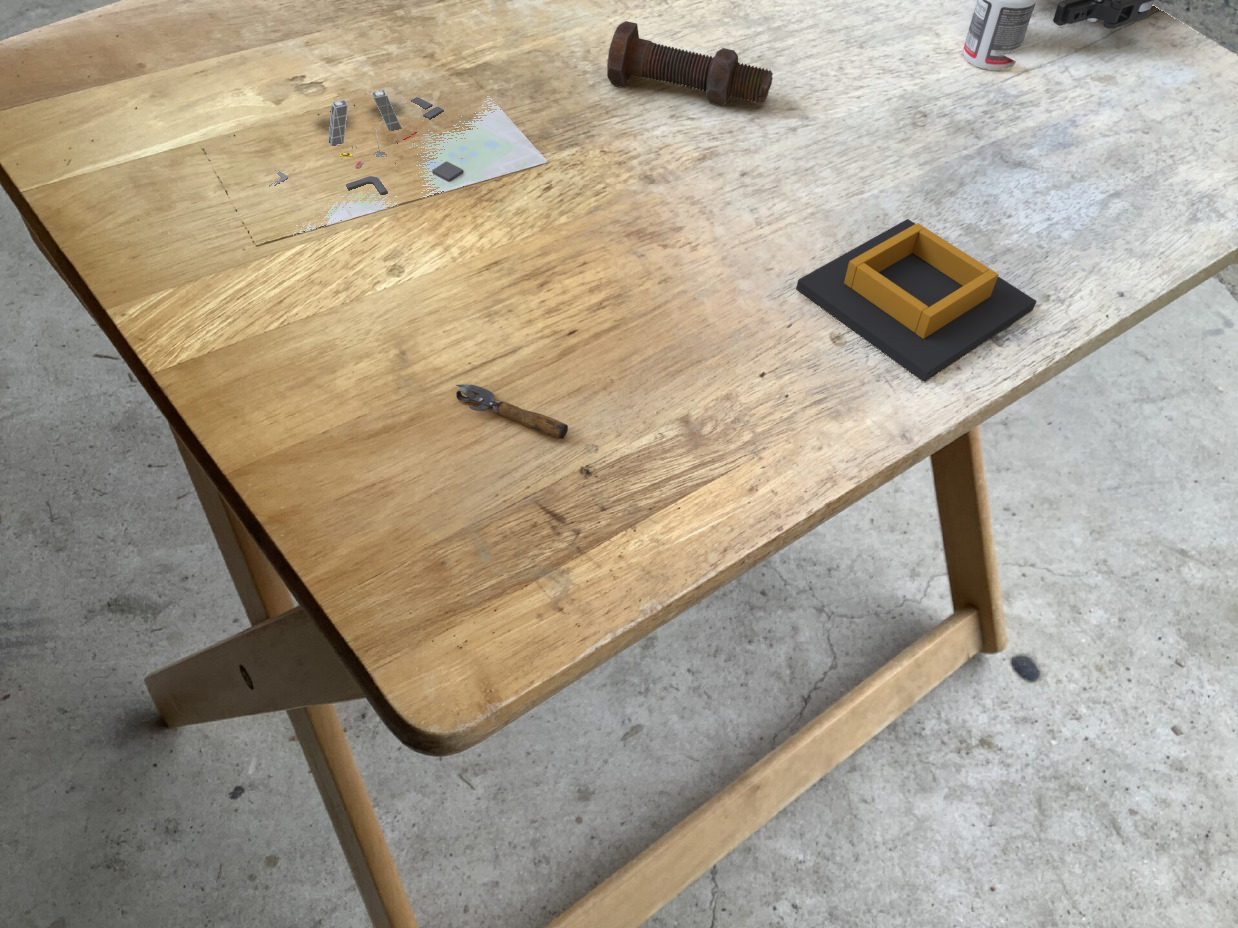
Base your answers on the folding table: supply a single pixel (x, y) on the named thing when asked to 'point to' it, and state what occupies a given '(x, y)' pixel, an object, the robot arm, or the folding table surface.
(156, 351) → the folding table surface
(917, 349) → the dock
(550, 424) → the can opener
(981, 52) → the pill bottle
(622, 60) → the bolt
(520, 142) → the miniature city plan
